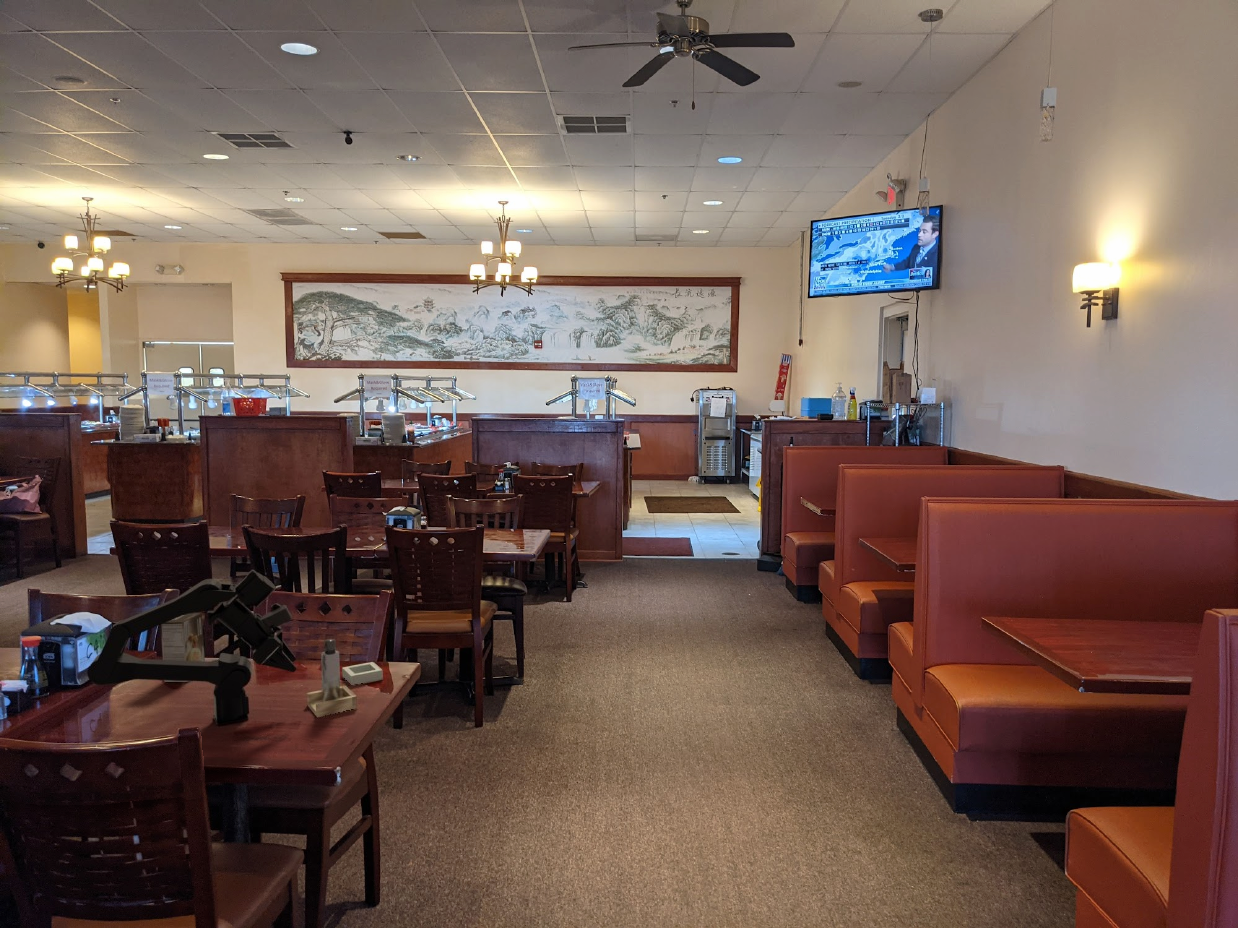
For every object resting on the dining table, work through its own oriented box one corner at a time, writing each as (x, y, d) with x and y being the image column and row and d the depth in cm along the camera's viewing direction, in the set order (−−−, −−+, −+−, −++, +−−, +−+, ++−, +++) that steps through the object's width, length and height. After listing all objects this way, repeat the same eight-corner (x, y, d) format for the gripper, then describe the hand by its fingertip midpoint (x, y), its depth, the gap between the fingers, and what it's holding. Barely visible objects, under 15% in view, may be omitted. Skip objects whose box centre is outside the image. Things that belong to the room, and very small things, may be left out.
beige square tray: (317, 717, 193) (316, 704, 193) (307, 705, 201) (307, 692, 201) (356, 708, 198) (356, 696, 198) (346, 697, 206) (345, 685, 206)
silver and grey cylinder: (320, 705, 197) (318, 642, 196) (325, 699, 201) (324, 637, 200) (337, 705, 197) (335, 642, 196) (342, 699, 201) (341, 637, 200)
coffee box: (182, 671, 227) (179, 612, 225) (206, 671, 226) (202, 612, 225) (163, 683, 217) (159, 621, 216) (188, 683, 217) (184, 621, 216)
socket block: (351, 685, 214) (351, 675, 214) (342, 676, 221) (342, 667, 220) (382, 679, 218) (382, 669, 218) (373, 670, 225) (372, 661, 225)
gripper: (268, 602, 185) (322, 648, 190) (270, 588, 203) (319, 630, 207) (229, 641, 183) (285, 686, 187) (234, 623, 200) (285, 665, 205)
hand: (295, 665), depth 197 cm, fingers open, 9 cm apart
